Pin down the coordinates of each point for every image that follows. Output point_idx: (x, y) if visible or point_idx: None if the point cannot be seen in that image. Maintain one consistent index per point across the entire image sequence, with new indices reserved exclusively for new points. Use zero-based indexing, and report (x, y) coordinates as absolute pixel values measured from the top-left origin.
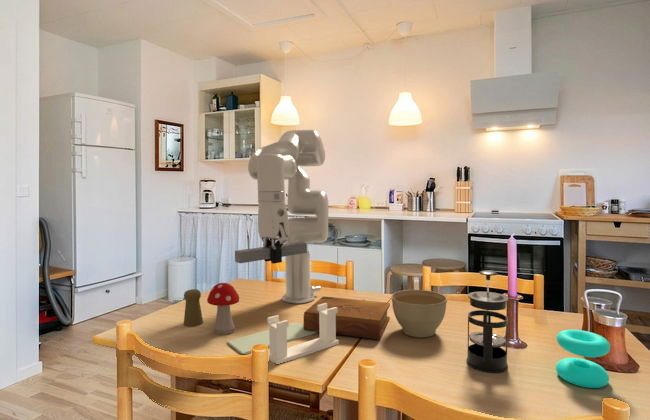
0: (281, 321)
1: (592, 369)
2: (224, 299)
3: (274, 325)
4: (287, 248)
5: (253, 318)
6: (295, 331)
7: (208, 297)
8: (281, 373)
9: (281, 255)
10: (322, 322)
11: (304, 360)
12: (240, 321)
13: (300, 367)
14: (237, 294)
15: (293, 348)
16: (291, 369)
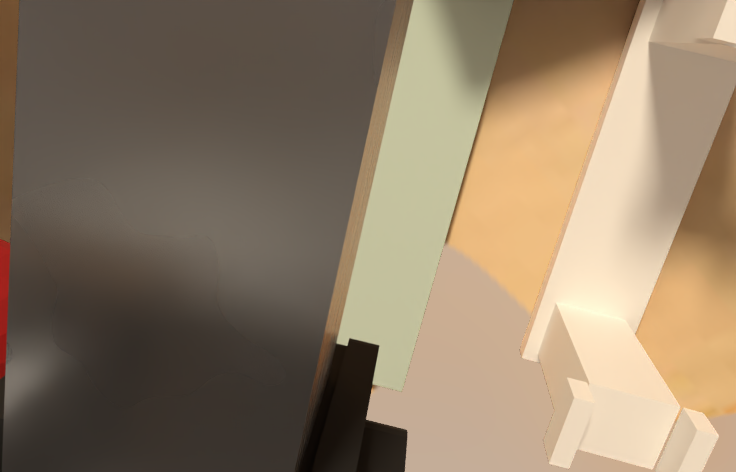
0: (683, 466)
1: None
2: None
3: (609, 443)
4: (342, 275)
5: (18, 5)
6: (424, 26)
7: None
8: (680, 413)
9: (367, 406)
10: (729, 52)
11: (699, 268)
12: (10, 96)
13: (724, 331)
14: (2, 288)
15: (594, 237)
16: (697, 366)
